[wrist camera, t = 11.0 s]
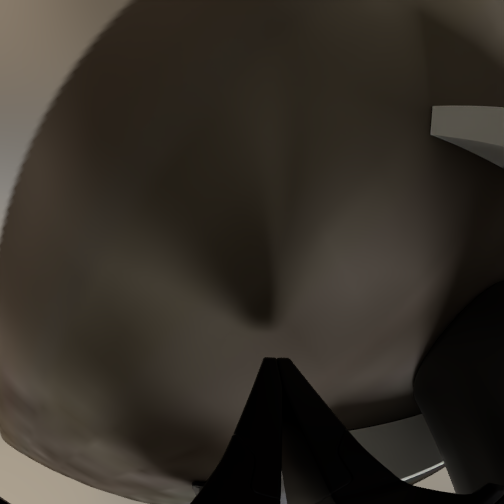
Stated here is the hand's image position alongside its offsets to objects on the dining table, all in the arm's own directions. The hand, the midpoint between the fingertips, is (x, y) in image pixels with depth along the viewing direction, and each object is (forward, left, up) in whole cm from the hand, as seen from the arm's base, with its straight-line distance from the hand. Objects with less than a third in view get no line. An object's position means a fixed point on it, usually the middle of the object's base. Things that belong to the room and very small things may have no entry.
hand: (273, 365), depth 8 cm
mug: (0, -12, -1) cm, 12 cm away
